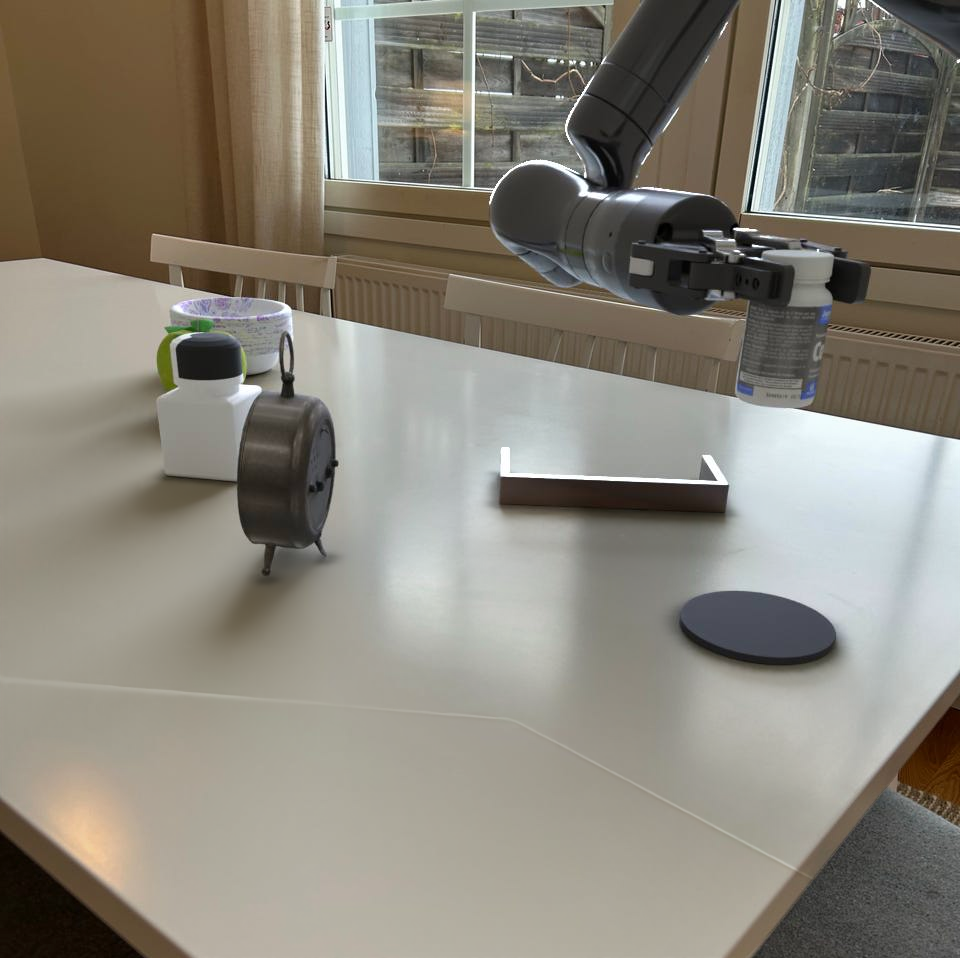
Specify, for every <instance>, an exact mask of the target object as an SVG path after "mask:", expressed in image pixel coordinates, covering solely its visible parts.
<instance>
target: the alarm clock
mask: <svg viewBox="0 0 960 958" xmlns="http://www.w3.org/2000/svg"><path fill="white" fill-rule="evenodd" d="M285 337H287V340H288V345H289V348H288V350H289V370H288V371H286V370H285V369H286V368H285V362H284V360H285V359H284V352H285V350H284V341H285ZM278 361H279V367H280V368H279V369H280V374H281V375H280V380H281V383H282V384H281V390H280V391H274V390H270V389H265V390H262V392H261V393H260V394H259V395H258V396H257V397H256V398H255V400H254V401H253V403H252V405H251V407H250V409H249V412H248V415H247V417H246V420H245V423H244V427H243V432H242V436H241V442H240V448H239V456H238V467H237V481H236V499H237V510H238V517H239V523H240V527H241V528H242V531H243V534H244V535H245V537H246V538H247V540H248V541H249V542H250V543H251V544H253V545H265V546H264V547H265V548H264V553H263V554H264V555H263V562H264V563H263V568H261V569H262V570H261V574H262V576H264V577H265V576H266V577H268V576H269V575H271V571H272V570H271V566H272V562H273V560H274V556H275V552H276V549H277V547H280V548H288V549H296V550H303V549H307V548H309V547H310V546H311V545H313V544H315V546H316V547H317V549H318V551H319V553H320V554H321V555H322V556H323V557H327V552H326V550H325V549H324V546H323V543H322V540H321V538H322V535H323V529H324V528H325V525H326V522H327V519H328V516H329V512H330V509H331V504H332V498H333V493H334V492H333V491H334V486H335V477H336V468H337V467H339V460H338V459H337V457H336V456H337V448H336V447H337V445H336V432H335V427H334V426H335V425H334V421H333V417H332V415H331V411H330V410H329V407H328V406H327V405H326V403H325V402H324V401H323V400H321V398H320V397H317V396H315V395H308V394H302V393H301V394H299V393H295V388H294V387H295V386H294V382H295V381H296V379H295V378H296V377H295V374H294V369H295V351H294V342H293V343H292V339H291V336H290V334H289V332H288V331H283V332H282V335H281V338H280V343H279V358H278Z"/></svg>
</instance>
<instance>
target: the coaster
mask: <svg viewBox="0 0 960 958" xmlns="http://www.w3.org/2000/svg"><path fill="white" fill-rule="evenodd" d="M679 625H680V628H681V630H682V631H683V632H684V633H685V635H686V636H687V637H689V638H690V639H691V640H692V641H693V642H695V643H696V644H698V645H699V646H701V647H703V648H705V649H707V650H709V651H711V652H712V653H713V652H714V653H716V654H719V655H721V656H724V657H728V658H731V659H734V660H739V661H744V662H749V663H753V664H762V665H763V664H764V665H777V666H779V665H797V664H804V663H809V662H813V661H815V660H818V659H821V658H823V657H824V656H826V655H828V654H829V653H830V652H831V651H832V649H833V648H834V646H835V643H836V640H837V632H836V629H835V627H834V624H832V622H831V621H830V620H829V618H827V617H826V616H824V614H822V613H820V612H819V611H818V610H816V609H814V608H812V607H811V606H808V605H806V604H803V603H801V602H799V601H796V600H794V599H790V598H787V597H783V596H779V595H775V594H770V593H765V592H759V591H749V590H720V591H713V592H708V593H707V592H706V593H703V594H699V595H697V596H695V597H692V598H691V599H688V601H686V602H685V603H684V604H683V606H682V607H681V609H680V612H679Z"/></svg>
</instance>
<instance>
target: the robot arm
mask: <svg viewBox="0 0 960 958" xmlns="http://www.w3.org/2000/svg"><path fill="white" fill-rule="evenodd" d="M869 1H870V2H872V3H873V4H874V5H875V6H877V7H879V8H880V9H881V10H882V11H884V12H885V13H887V14H888V15H890V16H891V17H892V18H894V19H895V20H896V21H898V22H899V23H901V24H903V25H904V26H906V27H907V28H909V29H911V30H912V31H913V32H915V33H916V34H918V35H919V36H921V37H922V38H923V39H925V40H927V41H928V42H929V43H931V44H932V45H934V46H935V47H937V48H938V49H939V50H940V51H942V52H943V53H944V54H946V55H947V56H948V57H950V58H951V59H953V60H954V61H956V62H957V63H959V64H960V0H869ZM740 2H741V0H641V2H640V4H639V5H638V6H637V8H636V10H635V11H634V13H633V14H632V15H631V17H630V19H629V20H628V22H627V24H626V25H625V26H624V28H623V29H622V31H621V32H620V34H619V35H618V37H617V39H616V40H615V42H614V43H613V45H612V46H611V48H610V49H609V51H608V52H607V54H606V56H605V57H604V59H603V60H602V62H601V64H600V65H599V67H598V68H597V70H596V71H595V73H594V75H593V76H592V78H591V79H590V81H589V82H588V84H587V86H586V87H585V89H584V91H583V92H582V94H581V96H580V97H579V98H578V99H577V102H576V103H575V104H574V107H573V108H572V110H571V111H570V114H569V115H568V118H567V120H566V124H565V132H566V136H567V138H568V140H569V142H570V145H572V147H573V149H574V150H575V152H576V153H577V155H578V156H579V158H580V160H581V162H582V165H583V167H584V171H585V172H584V175H583V174H580V173H578V172H576V171H574V170H572V169H570V168H567V167H565V166H563V165H561V164H558V163H555V162H552V161H548V160H543V159H542V160H541V159H540V160H537V159H536V160H530V161H526V162H524V163H521V164H519V165H516V166H515V167H514V168H512V169H510V170H509V171H508V172H507V173H506V174H505V175H503V177H502V178H501V179H500V180H499V181H498V183H497V184H496V186H495V188H494V189H493V191H492V194H491V196H490V201H489V205H488V220H489V221H488V222H489V225H490V228H491V231H492V233H493V235H494V237H495V238H496V239H497V241H498V242H499V243H500V244H501V245H502V246H504V247H505V248H506V249H507V250H508V251H510V252H511V253H512V254H514V255H515V256H516V257H518V258H519V259H520V260H522V261H523V262H524V263H525V264H526V265H528V266H529V267H530V268H532V269H533V270H534V271H536V272H537V273H538V274H539V275H541V276H542V277H543V278H544V279H545V280H547V281H548V282H550V283H551V284H552V285H554V286H556V287H559V288H573V287H575V286H578V285H580V284H582V283H584V284H587V285H590V286H594V287H597V288H600V289H603V290H607V291H609V292H610V293H612V294H613V295H615V296H617V297H619V298H621V299H623V300H627V301H630V302H633V303H637V304H640V305H643V306H646V307H649V308H652V309H655V310H658V311H662V312H665V313H668V314H671V315H675V316H682V317H683V316H684V317H685V316H687V317H688V316H693V315H698V314H700V313H703V312H705V311H707V310H709V309H710V308H713V306H714V305H715V304H717V303H718V302H719V301H722V302H725V301H726V302H733V301H734V300H739V299H741V300H745V301H748V300H749V301H753V302H756V303H760V304H764V305H768V306H772V307H785V306H787V305H788V304H789V302H790V300H791V294H792V288H793V283H794V277H795V269H794V267H793V265H791V264H786V263H781V262H776V261H771V260H766V259H761V257H762V253H763V252H764V251H769V250H802V251H815V252H823V253H829V254H832V255H834V261H833V268H832V276H831V277H830V281H829V282H826V283H825V288H826V289H827V290H828V291H829V292H830V293H831V295H832V298H833V301H834V302H835V301H836V302H839V303H844V304H849V305H857V304H862V303H864V301H865V300H866V297H867V294H868V289H869V285H870V284H869V283H870V280H871V279H870V278H871V276H872V275H871V274H872V267H871V264H870V263H868V262H865V261H859V260H854V259H849V258H848V254H849V251H848V250H846V249H843V247H839V246H837V247H834V246H830V245H826V244H822V243H817V242H815V241H809V239H807V238H800V239H798V238H792V237H791V238H790V237H782V236H773V235H765V234H763V233H762V231H760V230H759V229H758V230H757V229H749V228H740V224H739V222H738V220H737V218H736V216H735V214H734V213H733V211H732V210H731V208H730V207H729V206H728V205H727V204H726V203H725V202H724V201H722V200H721V199H719V198H718V197H715V196H712V195H709V194H703V193H697V192H696V193H695V192H687V191H681V190H680V191H679V190H671V189H663V188H657V187H655V188H654V187H640V188H639V187H638V188H634V186H635V184H636V181H637V178H638V176H639V173H640V171H641V168H642V166H643V165H644V162H645V160H646V159H647V157H648V156H649V154H650V152H651V151H652V149H653V148H654V146H656V143H657V142H658V140H659V139H660V137H661V136H662V134H663V133H664V131H665V130H666V128H667V127H668V125H669V124H670V122H671V121H672V119H673V117H674V116H675V115H676V113H677V111H678V110H679V109H680V107H681V105H682V103H683V102H684V100H685V98H686V97H687V95H688V94H689V92H690V90H691V89H692V87H693V85H694V84H695V82H696V80H697V78H698V77H699V75H700V73H701V72H702V70H703V68H704V66H705V64H706V63H707V61H708V59H709V57H710V55H711V53H712V52H713V50H714V48H715V46H716V44H717V42H718V41H719V38H720V37H721V35H722V33H723V31H724V30H725V28H726V27H727V24H728V22H729V21H730V19H731V17H732V15H733V14H734V13H735V10H736V8H737V7H738V5H739V4H740Z"/></svg>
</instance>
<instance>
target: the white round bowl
mask: <svg viewBox="0 0 960 958" xmlns="http://www.w3.org/2000/svg"><path fill="white" fill-rule="evenodd" d="M292 313H293V311H292V308H291V307H290V306H289V305H288V304H286V303H284V302H281V301H276V300H271V299H265V298H255V297H237V296H235V297H234V296H230V297H224V296H223V297H206V298H196V299H189V300H184V301H180V302H177V303H174V304H173V305H171V307H170V308H169V319H170V326H184V327H192V326H191V324H190V321H191V320H196V319H207V320H212V321H214V326H213V328H212V329H210V330H212V331H217V332H219V331H221V332H227V333H229V334H231V335H232V336H233V337H234V338H236V339H237V340H238V341H239V342H240V344H241V347H242V349H243V351H244V354H245V357H246V364H247V368H246V376H251V375H257V374H262V373H265V372H269V371H270V370H271V369H273V368H274V367H275V366H276V365H277V364H278V361H279V343H280V338H281V335H282V332H283V331H288V332H289V334H290V336H291V339H292V343H293V344H294V332H293V327H294V326H293V318H292ZM286 350H289V345H288V340H287V337H285V341H284V351H286Z"/></svg>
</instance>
